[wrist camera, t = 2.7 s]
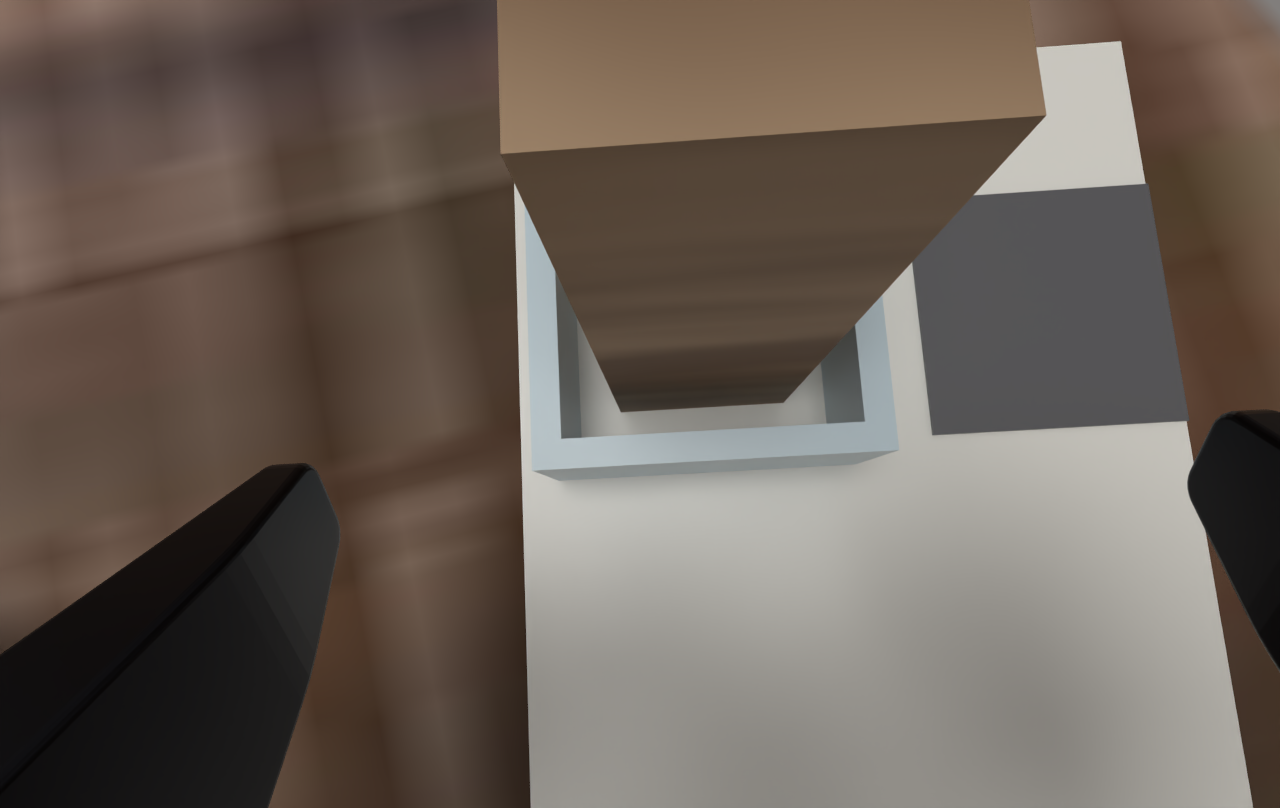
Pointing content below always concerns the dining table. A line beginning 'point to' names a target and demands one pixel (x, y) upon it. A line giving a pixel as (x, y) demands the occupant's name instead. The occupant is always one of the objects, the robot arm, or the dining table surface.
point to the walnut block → (749, 169)
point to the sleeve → (561, 453)
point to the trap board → (914, 542)
